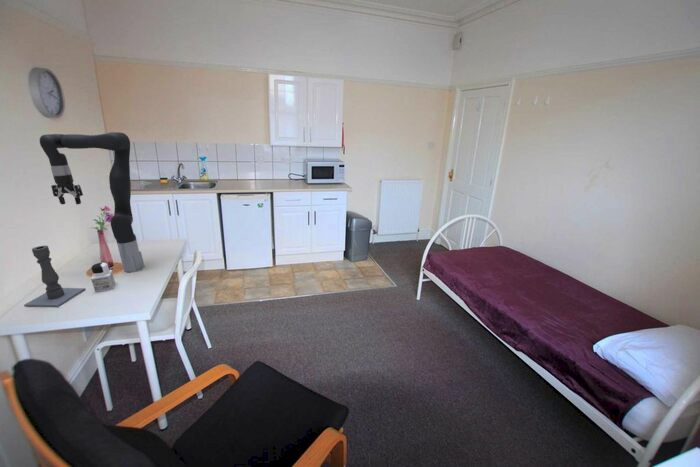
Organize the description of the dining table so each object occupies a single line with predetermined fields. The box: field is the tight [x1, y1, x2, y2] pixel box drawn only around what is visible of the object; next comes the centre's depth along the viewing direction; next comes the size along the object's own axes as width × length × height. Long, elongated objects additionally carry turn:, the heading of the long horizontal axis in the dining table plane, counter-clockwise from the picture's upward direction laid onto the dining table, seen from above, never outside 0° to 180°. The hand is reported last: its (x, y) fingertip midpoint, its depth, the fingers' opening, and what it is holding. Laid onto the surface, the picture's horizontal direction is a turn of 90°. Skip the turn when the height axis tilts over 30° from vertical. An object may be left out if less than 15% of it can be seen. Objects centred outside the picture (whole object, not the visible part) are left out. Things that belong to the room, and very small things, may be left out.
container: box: [90, 262, 116, 293], centre depth 168 cm, size 8×8×13 cm
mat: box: [23, 287, 86, 308], centre depth 160 cm, size 16×16×1 cm
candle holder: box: [31, 245, 64, 299], centre depth 156 cm, size 6×6×25 cm
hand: (71, 204), depth 179 cm, fingers open, 8 cm apart
